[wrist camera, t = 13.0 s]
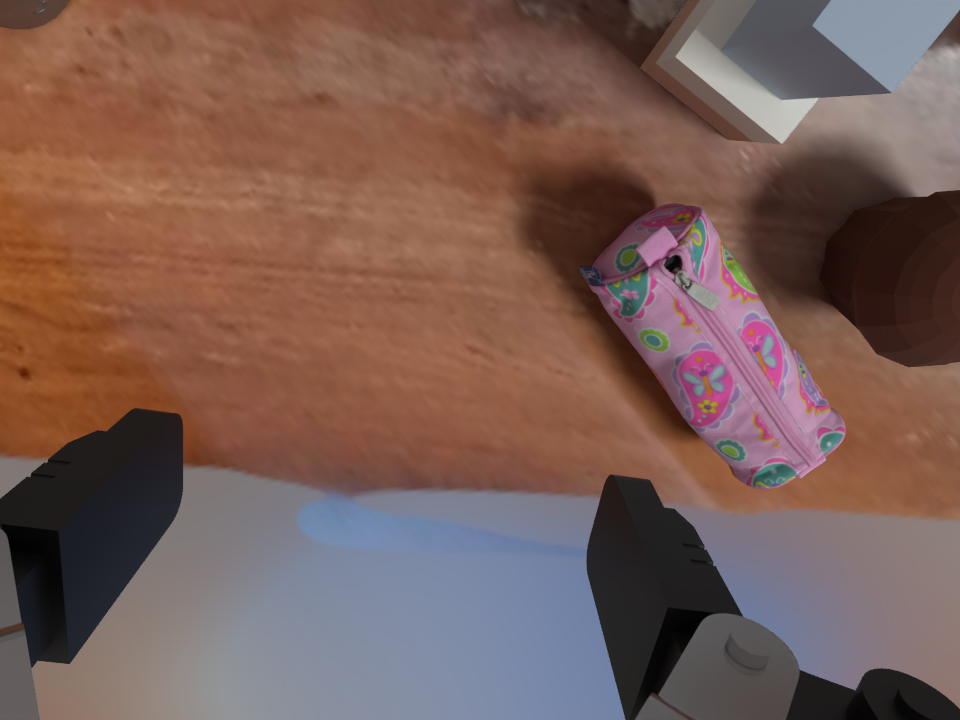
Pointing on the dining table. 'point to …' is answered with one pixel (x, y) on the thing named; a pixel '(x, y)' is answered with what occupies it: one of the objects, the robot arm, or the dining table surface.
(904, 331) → the muffin
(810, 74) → the blue brick
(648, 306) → the pencil case
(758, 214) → the dining table surface
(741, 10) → the tower base
